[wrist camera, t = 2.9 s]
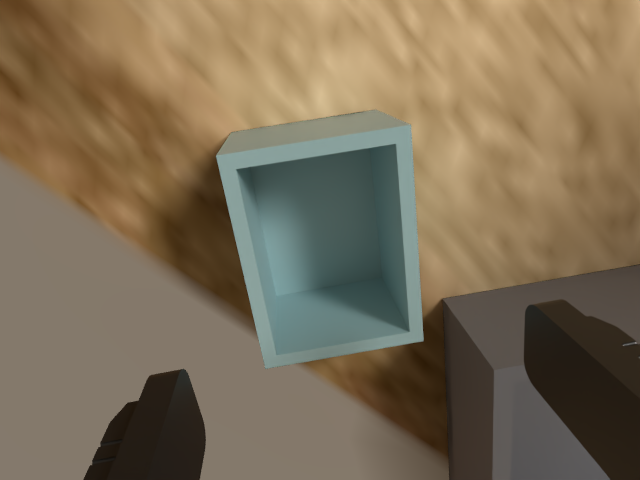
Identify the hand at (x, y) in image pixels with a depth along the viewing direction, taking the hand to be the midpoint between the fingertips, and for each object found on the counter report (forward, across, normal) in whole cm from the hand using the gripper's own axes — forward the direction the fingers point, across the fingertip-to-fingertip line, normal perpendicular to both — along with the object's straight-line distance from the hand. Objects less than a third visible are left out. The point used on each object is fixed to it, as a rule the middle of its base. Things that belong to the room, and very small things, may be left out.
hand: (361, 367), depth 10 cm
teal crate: (+10, 0, -1) cm, 10 cm away
